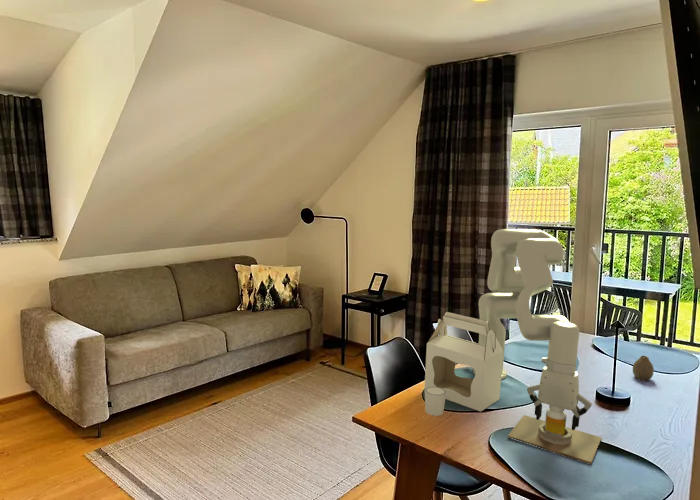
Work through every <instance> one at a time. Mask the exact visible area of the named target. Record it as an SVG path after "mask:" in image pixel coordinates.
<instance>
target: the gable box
mask: <svg viewBox="0 0 700 500" xmlns="http://www.w3.org/2000/svg"><path fill="white" fill-rule="evenodd" d="M447 326H448V327H453V328H458V329H461V330H464V331H465V330H466V331H469V332H472V333H477V334H479V333H480V334H483V335H485V336H486V345H482V344H479V342H478V343H477V342H475V341H472V340H471V341H470V340H466V339H463V338H459V337H457V336H452V335H448V329H447V328H448V327H447ZM425 353H426V354H425V372H424V373H425V375H424V391H425V389H426V388H427V387H440V388H442V389H444V390H445V391H446V398H445V400H447V401H450V402H453V403H456V404H458V405H461V406H464V407H467V408H469V409H473V410H475V411H478V412H482V411H484V410H486V409H487V408H489V407H490V406H491V405H493V404H494V403H496V402H498V401H499V400H500V398H501V396H500V395H501V382H502V379H501V372H502V359H503V349H502V348H501V346H500V344H499V342H498V340H497V338H496V333H495V332H493V331H492V330H489V323H488V321H485V320H481V319H480V318H476V317H472V316H468V315H463V314H459V313H455V312H454V313H453V312H449V311H446V312H445V313H444V315H442V318H438V320H437V326H436V327H435V329H434V331H433V332H432V334H431V336H430V338H429V339H428V341H427V342H426V352H425ZM456 364H459V365H464V366H469V367H471V368H472V370H473V369H474V370H475V372H476V374H474V377H473V378H471V377H463V376H462V377H461V376H458V375H457V374H456V372H455V369H456Z"/></svg>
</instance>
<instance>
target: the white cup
mask: <svg viewBox="0 0 700 500" xmlns="http://www.w3.org/2000/svg"><path fill="white" fill-rule="evenodd" d="M445 398H446V391H445V390H444V389H442V388H440V387H427V388H426V389H425V390H424V406H425V413H426V414H428V415H430V416H433V417H434V416H435V417H437V416H438V417H439V416H442V415H443V414H444V409H445V404H446V399H445Z"/></svg>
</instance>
